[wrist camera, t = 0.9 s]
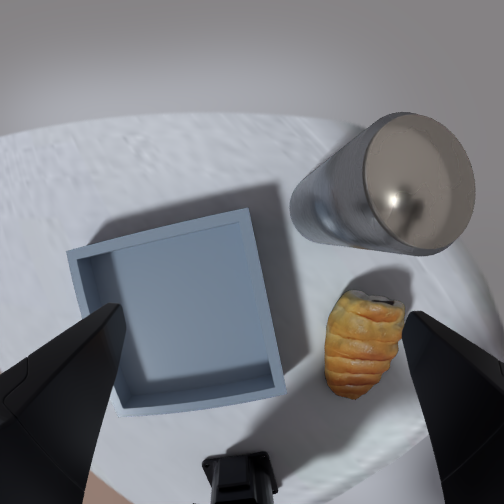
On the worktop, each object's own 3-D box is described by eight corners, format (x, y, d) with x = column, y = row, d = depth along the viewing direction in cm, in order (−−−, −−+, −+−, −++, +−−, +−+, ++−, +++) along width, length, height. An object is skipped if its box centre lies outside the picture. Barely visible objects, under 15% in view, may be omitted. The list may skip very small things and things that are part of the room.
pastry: (373, 391, 26) (389, 411, 22) (305, 387, 26) (315, 409, 22) (400, 296, 25) (422, 305, 22) (331, 284, 25) (346, 293, 21)
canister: (362, 236, 25) (489, 241, 10) (297, 250, 24) (378, 273, 10) (348, 168, 24) (459, 107, 10) (282, 180, 24) (342, 110, 10)
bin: (282, 377, 25) (287, 393, 22) (128, 400, 25) (118, 417, 22) (247, 210, 24) (248, 207, 21) (83, 249, 24) (66, 251, 21)
